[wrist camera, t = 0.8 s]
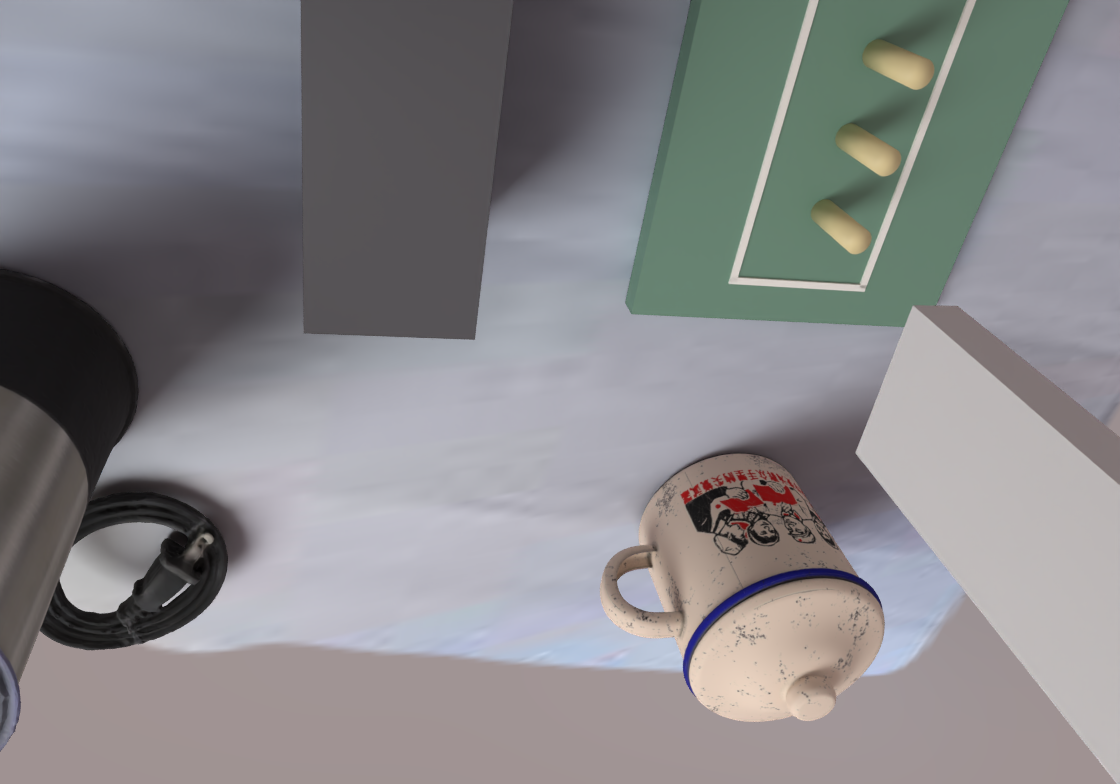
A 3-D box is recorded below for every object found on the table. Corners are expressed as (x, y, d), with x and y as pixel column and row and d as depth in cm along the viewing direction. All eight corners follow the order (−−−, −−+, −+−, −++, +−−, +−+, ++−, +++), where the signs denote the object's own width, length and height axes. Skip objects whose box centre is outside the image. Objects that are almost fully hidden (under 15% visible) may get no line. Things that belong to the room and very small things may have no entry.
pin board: (625, 302, 35) (652, 351, 32) (722, -144, 27) (772, -139, 24) (914, 317, 39) (964, 362, 36) (1080, -74, 30) (1167, -62, 27)
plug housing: (315, 225, 31) (303, 333, 25) (315, -337, 23) (297, -400, 16) (451, 235, 32) (474, 339, 26) (499, -295, 24) (552, -338, 17)
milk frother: (-87, 210, 28) (-421, 501, 16) (337, 406, 36) (325, 706, 24) (-211, 498, 33) (-538, 886, 21) (184, 618, 40) (110, 956, 28)
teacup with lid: (823, 445, 42) (956, 625, 33) (772, 575, 47) (876, 765, 38) (592, 445, 39) (666, 643, 30) (564, 584, 44) (620, 792, 35)
